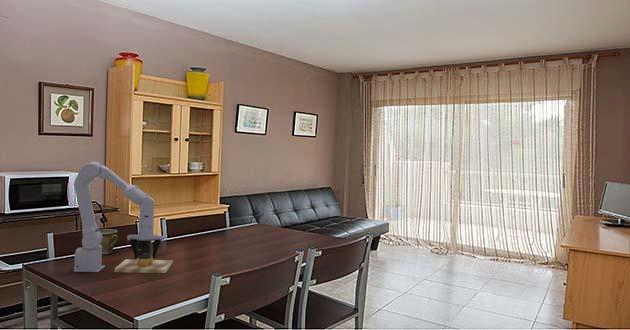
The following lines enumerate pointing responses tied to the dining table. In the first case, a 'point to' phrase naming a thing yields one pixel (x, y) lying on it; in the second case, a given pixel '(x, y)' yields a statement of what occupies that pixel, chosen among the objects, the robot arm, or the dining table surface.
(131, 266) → the piston block
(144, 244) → the supplement bottle
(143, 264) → the wooden ring
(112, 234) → the ceramic cup
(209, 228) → the dining table surface
